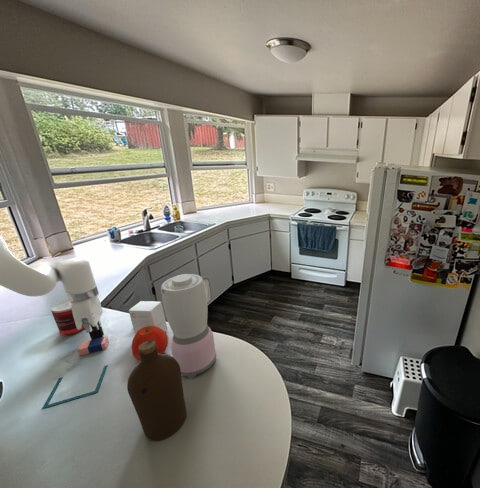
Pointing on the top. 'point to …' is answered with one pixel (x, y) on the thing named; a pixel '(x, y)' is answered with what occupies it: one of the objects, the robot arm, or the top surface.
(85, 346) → the eraser
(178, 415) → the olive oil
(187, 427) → the top surface
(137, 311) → the small box
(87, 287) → the robot arm
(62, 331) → the canned food
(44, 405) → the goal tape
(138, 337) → the apple
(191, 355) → the blender
